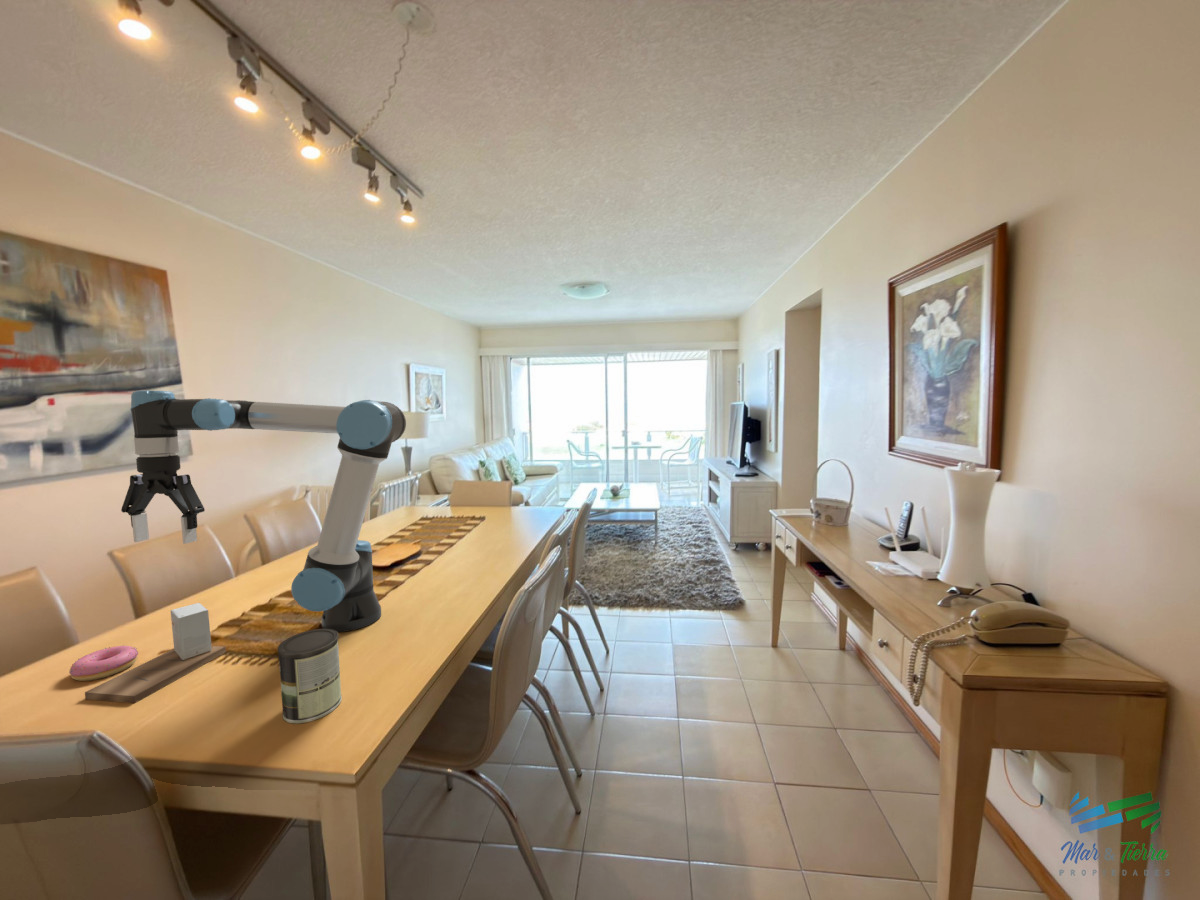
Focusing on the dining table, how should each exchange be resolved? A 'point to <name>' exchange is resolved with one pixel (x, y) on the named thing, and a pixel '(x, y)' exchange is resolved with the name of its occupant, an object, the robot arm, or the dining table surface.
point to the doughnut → (103, 663)
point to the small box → (191, 630)
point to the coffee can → (309, 675)
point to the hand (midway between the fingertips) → (165, 541)
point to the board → (150, 676)
